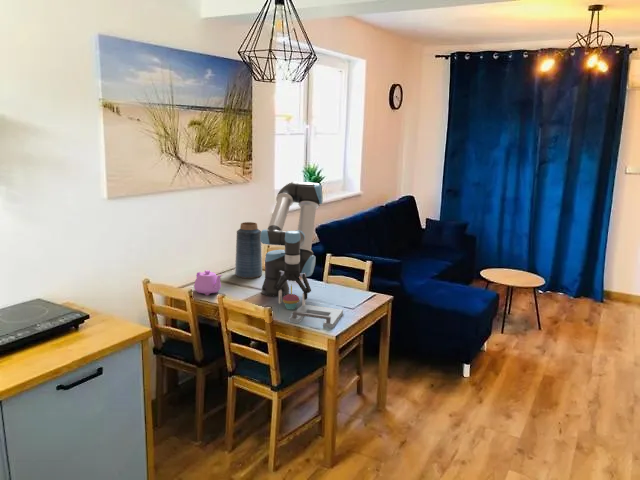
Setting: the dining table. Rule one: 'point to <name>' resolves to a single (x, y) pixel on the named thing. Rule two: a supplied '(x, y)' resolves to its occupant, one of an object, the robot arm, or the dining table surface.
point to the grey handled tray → (317, 314)
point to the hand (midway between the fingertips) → (291, 304)
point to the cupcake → (291, 300)
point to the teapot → (207, 282)
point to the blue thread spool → (248, 251)
